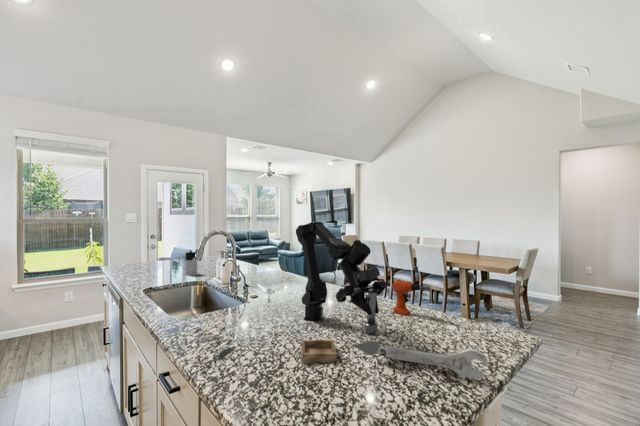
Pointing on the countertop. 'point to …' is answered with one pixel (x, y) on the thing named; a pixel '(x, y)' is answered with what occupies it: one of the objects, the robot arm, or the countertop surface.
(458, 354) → the wrench
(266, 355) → the countertop surface
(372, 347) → the mat
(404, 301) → the toy drill
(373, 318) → the chuck key
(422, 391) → the countertop surface
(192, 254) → the grey container
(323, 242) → the robot arm
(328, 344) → the tray
